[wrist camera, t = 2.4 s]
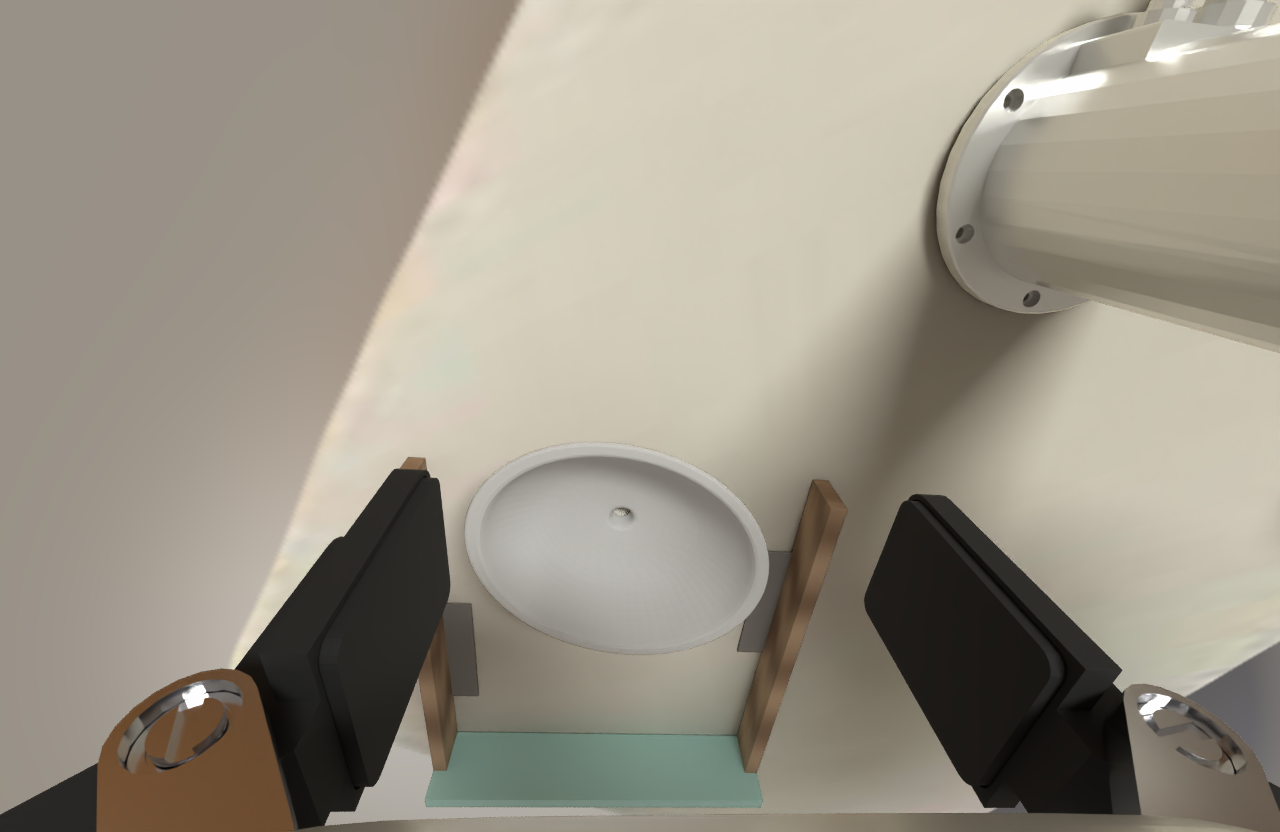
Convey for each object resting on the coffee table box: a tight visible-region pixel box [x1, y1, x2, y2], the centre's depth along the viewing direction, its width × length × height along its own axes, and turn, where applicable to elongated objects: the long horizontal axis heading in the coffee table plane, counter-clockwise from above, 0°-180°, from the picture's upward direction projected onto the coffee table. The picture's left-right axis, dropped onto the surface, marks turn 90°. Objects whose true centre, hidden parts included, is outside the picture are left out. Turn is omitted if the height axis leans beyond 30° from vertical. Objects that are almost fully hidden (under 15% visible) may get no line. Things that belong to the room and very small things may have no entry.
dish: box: [465, 442, 769, 655], centre depth 30 cm, size 18×14×5 cm
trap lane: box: [400, 457, 848, 808], centre depth 35 cm, size 28×26×5 cm
